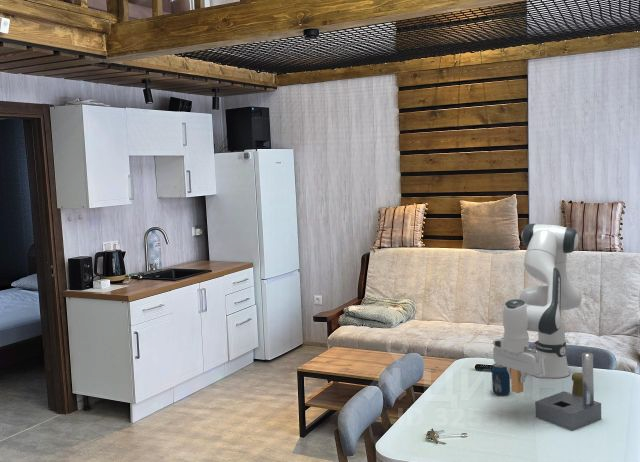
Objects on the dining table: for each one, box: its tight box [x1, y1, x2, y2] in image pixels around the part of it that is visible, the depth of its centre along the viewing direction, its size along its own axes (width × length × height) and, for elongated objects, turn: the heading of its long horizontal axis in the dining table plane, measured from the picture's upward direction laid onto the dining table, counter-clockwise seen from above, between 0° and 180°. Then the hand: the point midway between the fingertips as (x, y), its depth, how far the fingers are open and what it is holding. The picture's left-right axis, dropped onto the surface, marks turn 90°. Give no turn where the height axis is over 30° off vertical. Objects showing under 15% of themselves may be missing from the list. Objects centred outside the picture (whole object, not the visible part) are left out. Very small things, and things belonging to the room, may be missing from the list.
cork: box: [571, 372, 583, 397], centre depth 252 cm, size 6×6×11 cm
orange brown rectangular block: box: [510, 368, 524, 394], centre depth 240 cm, size 3×3×10 cm
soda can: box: [491, 362, 511, 397], centre depth 265 cm, size 7×7×12 cm
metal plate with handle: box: [534, 352, 602, 432], centre depth 236 cm, size 16×16×24 cm
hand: (517, 380), depth 240 cm, fingers closed on orange brown rectangular block, 3 cm apart
